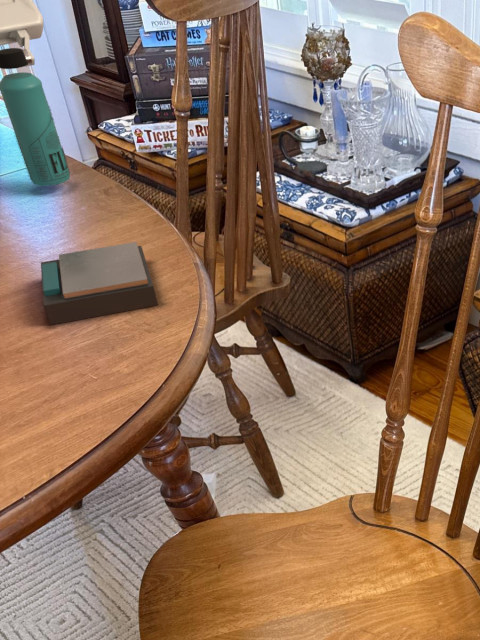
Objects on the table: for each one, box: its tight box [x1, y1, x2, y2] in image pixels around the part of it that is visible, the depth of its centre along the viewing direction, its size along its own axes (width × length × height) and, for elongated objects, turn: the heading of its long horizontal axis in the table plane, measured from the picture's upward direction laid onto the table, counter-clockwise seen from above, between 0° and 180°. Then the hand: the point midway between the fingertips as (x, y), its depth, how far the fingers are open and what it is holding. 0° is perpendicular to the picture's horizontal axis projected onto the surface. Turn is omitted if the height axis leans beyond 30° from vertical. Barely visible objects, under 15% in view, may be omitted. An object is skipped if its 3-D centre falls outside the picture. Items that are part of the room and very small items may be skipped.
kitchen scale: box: [40, 241, 159, 326], centre depth 100 cm, size 13×13×3 cm
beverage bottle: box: [0, 47, 71, 187], centre depth 122 cm, size 6×7×20 cm
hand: (1, 69), depth 121 cm, fingers open, 8 cm apart
